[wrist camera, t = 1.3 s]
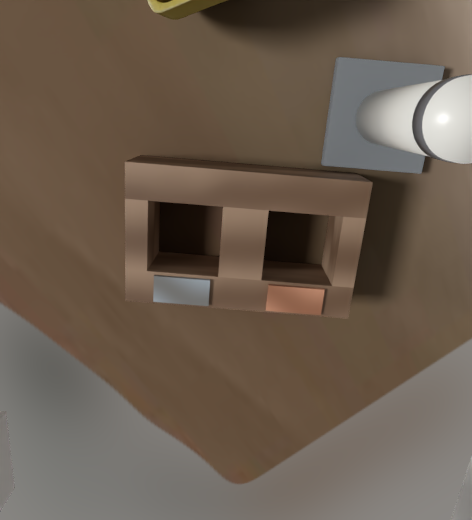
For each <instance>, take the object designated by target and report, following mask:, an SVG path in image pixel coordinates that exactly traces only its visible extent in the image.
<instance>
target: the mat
mask: <svg viewBox="0 0 472 520" xmlns="http://www.w3.org/2000/svg"><path fill="white" fill-rule="evenodd" d="M444 68H445V66H437V65H426V64H414V63H402V62H391V61H379V60H367V59H356V58H344V57H338V58H336V62H335V69H334V76H333V83H332V90H331V97H330V104H329V111H328V118H327V126H326V133H325V140H324V147H323V154H322V161H321V164H322V165H323V166H335V167H347V168H359V169H371V170H383V171H395V172H407V173H419V174H421V173H422V168H423V164H424V159H425V155H421V154H416V153H412V152H408V151H403V150H399V149H395V148H390V147H386V146H382V145H377V144H373V143H370V142H368V141H366V140H365V139H364V138H363V137H362V136H361V135H360V133H359V132H358V129H357V126H356V114H357V110H358V108H359V106H360V104H361V103H362V101H363V100H364V99H365V98H366V97H367V96H369V95H370V94H372V93H374V92H376V91H380V90H386V89H392V88H398V87H404V86H410V85H415V84H421V83H427V82H433V81H439V80H442V77H443V72H444Z"/></svg>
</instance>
